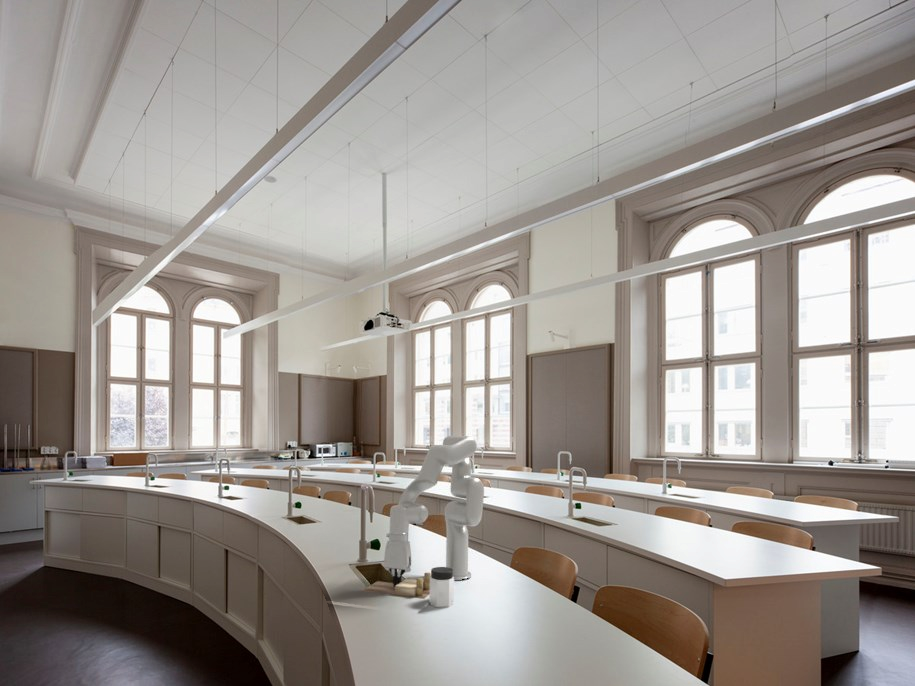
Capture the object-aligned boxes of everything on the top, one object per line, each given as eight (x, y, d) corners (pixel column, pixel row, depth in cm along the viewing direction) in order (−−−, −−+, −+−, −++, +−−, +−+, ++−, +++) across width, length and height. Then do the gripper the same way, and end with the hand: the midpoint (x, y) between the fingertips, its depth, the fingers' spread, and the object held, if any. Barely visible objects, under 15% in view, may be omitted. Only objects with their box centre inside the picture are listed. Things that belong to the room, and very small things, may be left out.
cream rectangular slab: (407, 585, 220) (407, 577, 220) (426, 587, 217) (426, 579, 218) (394, 594, 209) (395, 585, 209) (414, 596, 206) (414, 588, 207)
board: (377, 583, 225) (378, 565, 226) (436, 590, 217) (437, 572, 218) (361, 593, 212) (361, 574, 213) (423, 601, 204) (424, 581, 205)
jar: (430, 608, 197) (431, 572, 199) (428, 600, 205) (429, 567, 207) (455, 607, 198) (455, 572, 200) (452, 600, 206) (452, 566, 208)
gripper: (377, 537, 217) (375, 586, 214) (412, 541, 212) (410, 591, 209) (385, 534, 224) (384, 581, 221) (419, 537, 219) (418, 586, 216)
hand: (397, 586), depth 215 cm, fingers closed
